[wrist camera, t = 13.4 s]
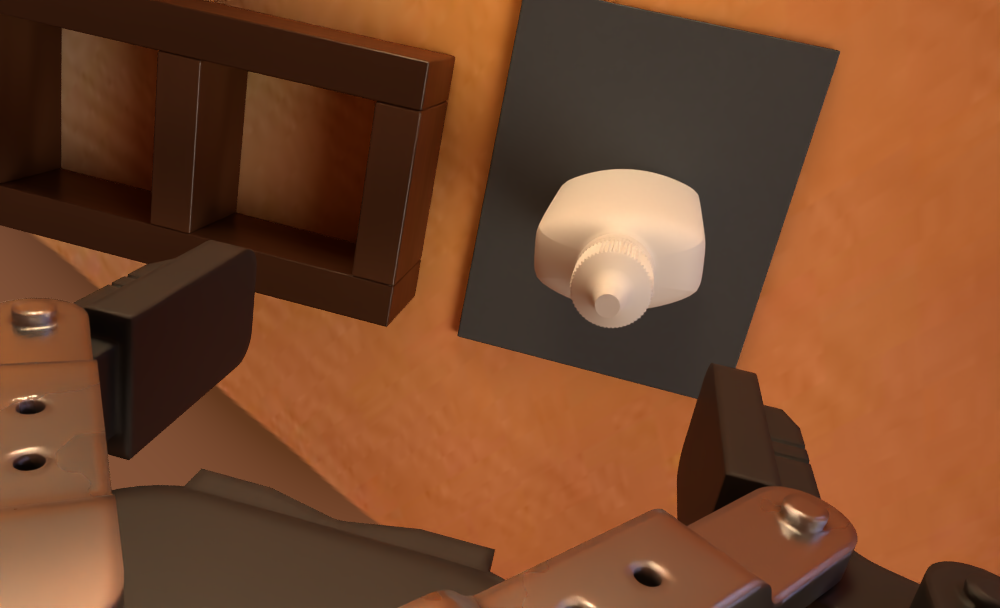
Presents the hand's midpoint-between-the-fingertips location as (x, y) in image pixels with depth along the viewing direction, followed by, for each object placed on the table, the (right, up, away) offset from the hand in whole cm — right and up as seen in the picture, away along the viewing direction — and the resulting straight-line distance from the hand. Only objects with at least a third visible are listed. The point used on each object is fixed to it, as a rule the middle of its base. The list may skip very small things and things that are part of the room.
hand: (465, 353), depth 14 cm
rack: (-12, +8, +22) cm, 27 cm away
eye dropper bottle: (+6, +5, +20) cm, 21 cm away
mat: (+6, +5, +20) cm, 22 cm away
